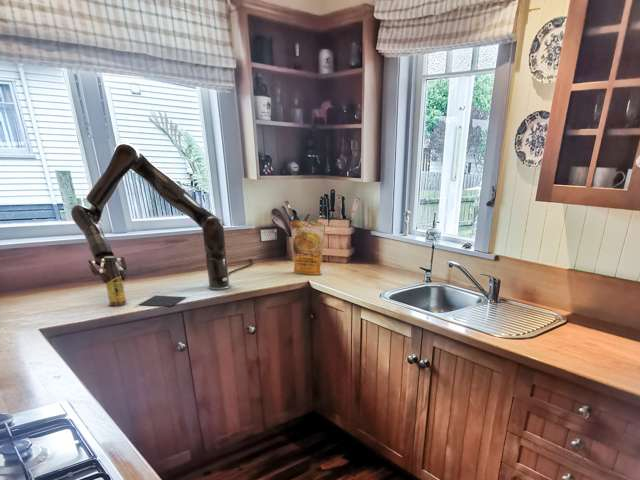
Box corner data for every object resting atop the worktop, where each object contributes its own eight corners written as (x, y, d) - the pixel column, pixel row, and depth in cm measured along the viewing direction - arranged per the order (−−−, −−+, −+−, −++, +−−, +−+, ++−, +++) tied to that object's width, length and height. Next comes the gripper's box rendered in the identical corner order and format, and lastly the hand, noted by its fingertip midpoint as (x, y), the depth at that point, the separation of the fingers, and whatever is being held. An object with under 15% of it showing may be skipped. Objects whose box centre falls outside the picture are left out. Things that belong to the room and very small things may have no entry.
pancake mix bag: (294, 270, 266) (292, 219, 254) (326, 273, 261) (325, 221, 250) (289, 273, 260) (287, 220, 248) (321, 276, 255) (320, 223, 244)
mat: (155, 296, 210) (155, 295, 210) (185, 297, 209) (185, 297, 209) (139, 305, 197) (139, 304, 197) (171, 306, 197) (171, 305, 197)
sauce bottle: (119, 306, 194) (109, 259, 186) (106, 305, 196) (95, 258, 187) (130, 302, 200) (120, 256, 192) (117, 301, 201) (107, 255, 193)
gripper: (81, 243, 188) (96, 278, 185) (119, 240, 197) (134, 273, 194) (80, 255, 193) (95, 288, 191) (117, 251, 202) (132, 283, 200)
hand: (115, 280), depth 192 cm, fingers closed on sauce bottle, 6 cm apart
